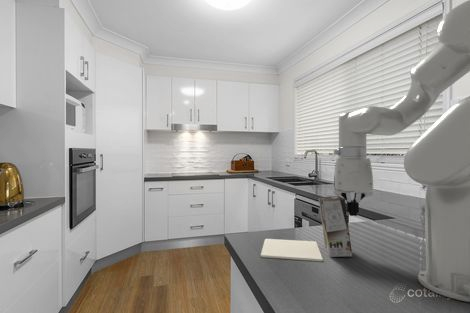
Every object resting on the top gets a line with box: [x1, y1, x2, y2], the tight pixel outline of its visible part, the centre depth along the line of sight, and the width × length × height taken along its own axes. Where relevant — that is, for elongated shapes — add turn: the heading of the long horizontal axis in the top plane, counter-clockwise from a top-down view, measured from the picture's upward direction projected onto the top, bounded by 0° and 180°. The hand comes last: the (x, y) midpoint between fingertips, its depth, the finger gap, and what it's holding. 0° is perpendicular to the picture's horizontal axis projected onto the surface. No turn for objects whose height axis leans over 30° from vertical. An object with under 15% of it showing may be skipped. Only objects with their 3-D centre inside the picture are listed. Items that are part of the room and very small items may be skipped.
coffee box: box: [318, 195, 353, 258], centre depth 76 cm, size 9×6×16 cm
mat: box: [260, 238, 324, 262], centre depth 78 cm, size 16×17×1 cm
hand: (352, 214), depth 75 cm, fingers closed
